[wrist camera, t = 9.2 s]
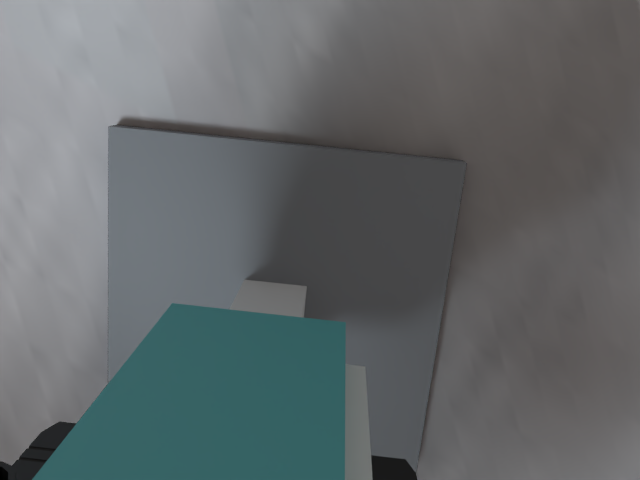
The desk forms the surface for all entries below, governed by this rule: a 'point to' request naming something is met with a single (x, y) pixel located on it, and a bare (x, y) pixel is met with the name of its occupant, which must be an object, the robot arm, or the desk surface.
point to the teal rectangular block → (217, 403)
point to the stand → (289, 250)
